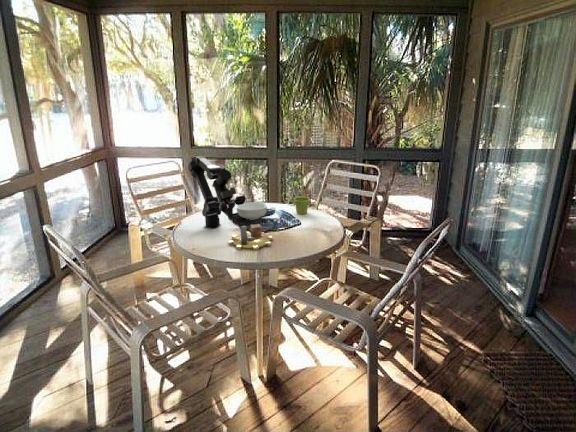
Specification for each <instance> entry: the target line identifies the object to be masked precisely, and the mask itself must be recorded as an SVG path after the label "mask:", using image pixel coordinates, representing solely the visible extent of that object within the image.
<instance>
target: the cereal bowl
mask: <svg viewBox="0 0 576 432" xmlns="http://www.w3.org/2000/svg"><path fill="white" fill-rule="evenodd" d="M267 211H268V205H267V204H266V203H263V202H259V201H255V202H254V201H252V202H251V201H250V202H249V201H248V202H244V204H241V205H236V212H237V214H238V215H239V216H240V218H244V219H246V220H248V219H249V220H250V221H255V220H258V219H260V218H261V217H264V216H265V215H266V213H267ZM249 220H248V221H249Z"/></svg>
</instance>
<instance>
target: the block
mask: <svg viewBox="0 0 576 432" xmlns="http://www.w3.org/2000/svg"><path fill="white" fill-rule="evenodd" d="M249 226H250V231H249V232H251V235H253V236H262V232H263V231H262V226H261V224H260V223H256V224H250V225H249Z"/></svg>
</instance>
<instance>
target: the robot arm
mask: <svg viewBox="0 0 576 432" xmlns="http://www.w3.org/2000/svg"><path fill="white" fill-rule="evenodd" d="M187 169H188V172H189V173H190V175H191V176H192V177H193V178H195V180H196V182H197V184H198V187H199V189H200V192H201V194H202V197H203V200H204V204H203V208H202V210H201V215H202V216H203V217H204V219H205V224H204V226H203V227H204V228H210V229H216V228H218V227H219V226H221V223H220V215H221V213H223V214H224V215H226V216H227V217H228V218H229V220H233V219H234V218H233V217H234V214H233V213H234V208H235V205H236V206H238V205H241V204H244V203H246V200H247V197H246V196H245V195H244V194H241V195H240V194H239V195H237V190H236V188H235V187H230V188H228V187H227V185H228V184H229V182H230V181H231V179H232V177H233V175H232V173H231V171H230V170H227V169H226V167H222V166H219V165H214V164H213V163H211V162H210V161H209V160H208V159H207V157H206V156H196V157H195V158H194V159H192V161H189V163H188V165H187ZM205 173H206V176H205ZM206 177H207V178H208V179H209V180H210V181H211V180H213V182H212V188H214V191H215V194H216V196H214V195H213V193H212V190H211V188H210V185H209V183H208V181H207V178H206ZM234 195H237V196H236V197H235V198H233V197H234Z"/></svg>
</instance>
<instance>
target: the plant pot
mask: <svg viewBox="0 0 576 432" xmlns="http://www.w3.org/2000/svg"><path fill="white" fill-rule="evenodd" d="M310 200H311V198H309V197H307V196H296V197H294V198H293V201H294V203H295V205H294V206H295V211H296V214H297V215H305V214H308V209H309V204H310Z"/></svg>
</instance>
